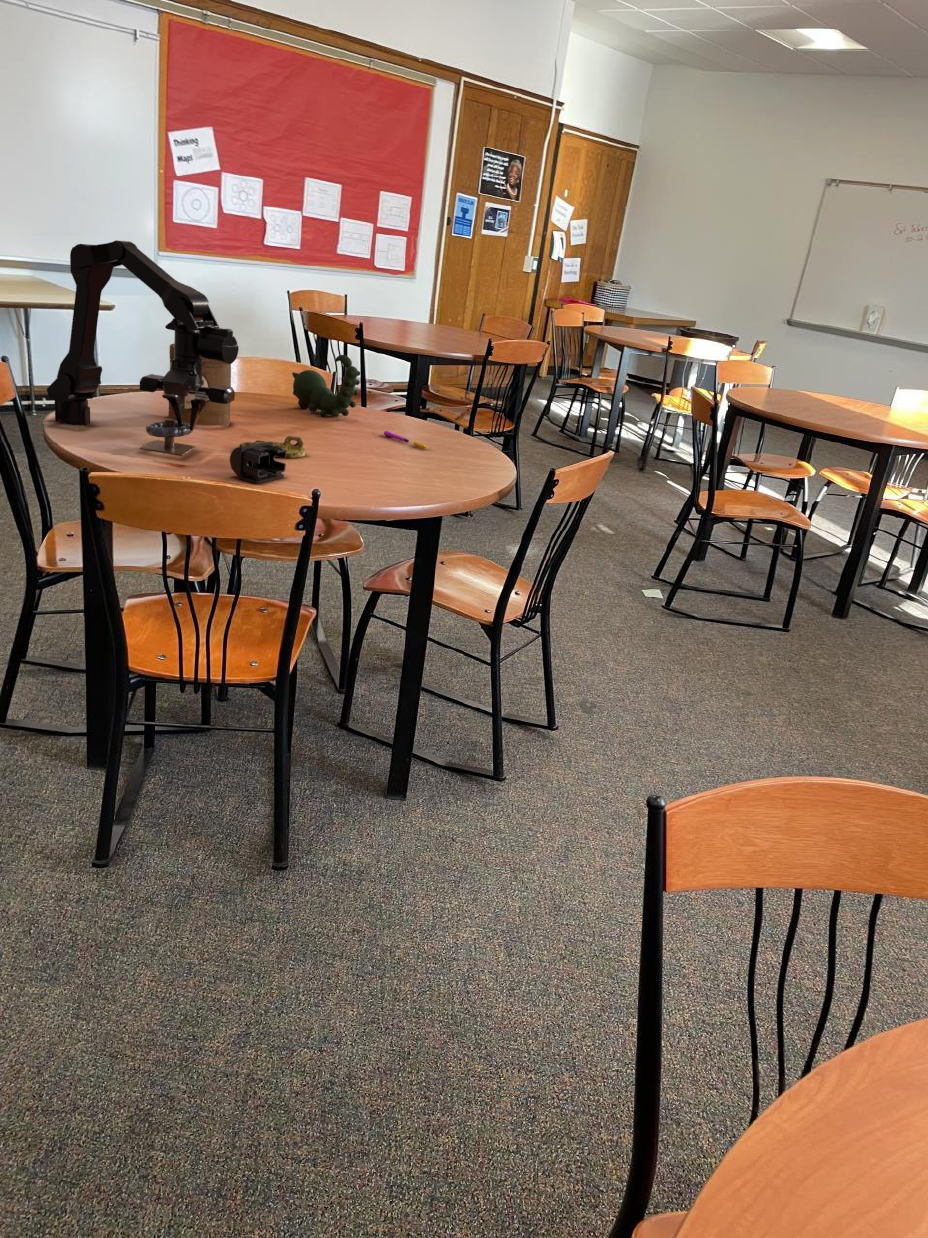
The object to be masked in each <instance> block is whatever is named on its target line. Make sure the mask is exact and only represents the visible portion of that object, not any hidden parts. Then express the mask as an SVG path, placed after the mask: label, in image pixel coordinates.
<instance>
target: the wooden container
mask: <svg viewBox="0 0 928 1238" xmlns="http://www.w3.org/2000/svg"><path fill="white" fill-rule="evenodd" d="M173 359H174V343H171V344H169V370H170V369H171V363H172V360H173ZM203 360H204V365H203V366H202V380H204V385H202V387H208V388H210V387H212V386H215V385H222V386H228V387H232V363H231V364H227V363H222V362H218V361H213V360H208V359H204V358H203ZM192 399H195V396H194V394H189V393H188V395H187V396H186V397H185V413H184V422H186V423H189V424H190V419H191V409H192V406H191V402H190V400H192ZM231 404H232V402H230V403H228V404H221V403H215V402H209V403H207V404H206V405H205V407H204V409H203V410H202V412H201V414H200V417H199V419H198V421H197V423H196V426H221V427H228V426H230V424H231ZM168 418H169V419H174V420H175V421H177V419H176V416H175V413H174V410H173V408H172V406H171V404H170V402H169V401H168Z"/></svg>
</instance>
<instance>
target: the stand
mask: <svg viewBox="0 0 928 1238" xmlns="http://www.w3.org/2000/svg"><path fill="white" fill-rule="evenodd" d="M175 421H176V420H174V419H171V418H170V417H168V418H165V419H164V422H165V428H174V422H175ZM163 438H164V439H163V440H160V439H156V440H154V441H152V442H150V443H148V444H146V445H144V446H141V447H140V450H144V451H150V452H156V453H162V454H168V455H174V456H180V457H182V456H184V455H186V454H188V453H189V452H192V451H193V450H195V449H196V448H197V445H192V444H186V443H180V442H175V437H163Z"/></svg>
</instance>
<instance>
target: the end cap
mask: <svg viewBox="0 0 928 1238" xmlns="http://www.w3.org/2000/svg"><path fill="white" fill-rule="evenodd" d="M273 442H274V441H266V442H264V443H258V444H253V445H248V446H242V447H239V446H237V447H235V448H234V449H233V450H232V451H231V452H230V455H229V466H230V467H231V468H230V469H232V471H233V473H234V474H235V475H236V476H237V477H238V478H239V479H240V480H242V481H243V482H248V483H251V484H255V485H260V484H264V483H268V482H272V481H276V480H281V479H283V478H285V474H284V472H286V467H287V464H286V463H285V462H281V461H279V460H276V457H275V456H276V455H277V456H280V457H279V458H282V457H284V458H283V459H287V458H286V450H285V449H281V448H278V447H274V446H273Z"/></svg>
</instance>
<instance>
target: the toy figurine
mask: <svg viewBox="0 0 928 1238" xmlns="http://www.w3.org/2000/svg"><path fill="white" fill-rule="evenodd" d="M334 362H336V363H337V362H341V364H342V366H343V367H344V368H346V369H345V372H344V373H345V374H344V375H343V377H342V384H341V385H340V387H339V391H338V392H337V393H333V392H332V390H331V389H330V388H329V387H328V386H327V382H326V380H325V378H324V377H323V375H321V374H320V372H318V371H315V370H313V369H305V370H303V371H300V372H293V371H292V372H291V375H292V377H293V378H294V380H293V384H292V390H293V391H292V395H293V396H295V397H296V398H297V399H298V401H297V404H298V406H299V408H301V409H304V410H305V409H308V410H309V411H310V412H311V413H315V412H317V411H319V415H320V416H321V417H323V418H324V417H327V416H332V417H336V418H337V417H339V415H340V414H341V415H342V416H343V417H348V416H349V414H350V411H349V409H347V408H349V407H350V408H351V409H352V408H355V407H357V404H356V402H355V401H354V400H353V397H354V396H358V395H359V391H358V390H356V386H359V385H360V383H361V382H360V380H359V379H357V378H358V377H359V376H361V371H360V370H358V368H357V367H355V366H353V362H352V360H351V358H350V357H349V356H348V355H345V354H339V355H338V356H336V358H335V360H334Z"/></svg>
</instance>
